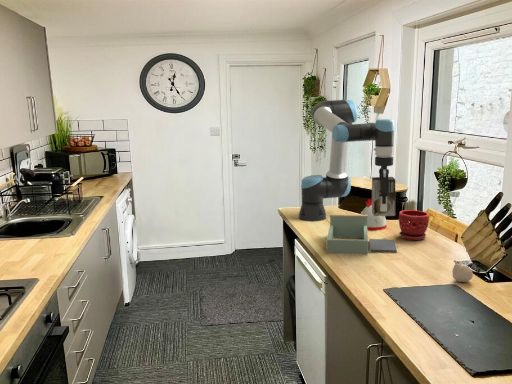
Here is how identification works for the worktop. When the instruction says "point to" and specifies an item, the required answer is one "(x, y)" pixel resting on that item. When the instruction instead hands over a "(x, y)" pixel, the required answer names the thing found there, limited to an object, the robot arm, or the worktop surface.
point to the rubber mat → (382, 245)
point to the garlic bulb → (462, 272)
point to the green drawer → (347, 234)
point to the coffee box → (376, 198)
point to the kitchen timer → (373, 218)
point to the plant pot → (413, 224)
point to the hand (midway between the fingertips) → (383, 208)
